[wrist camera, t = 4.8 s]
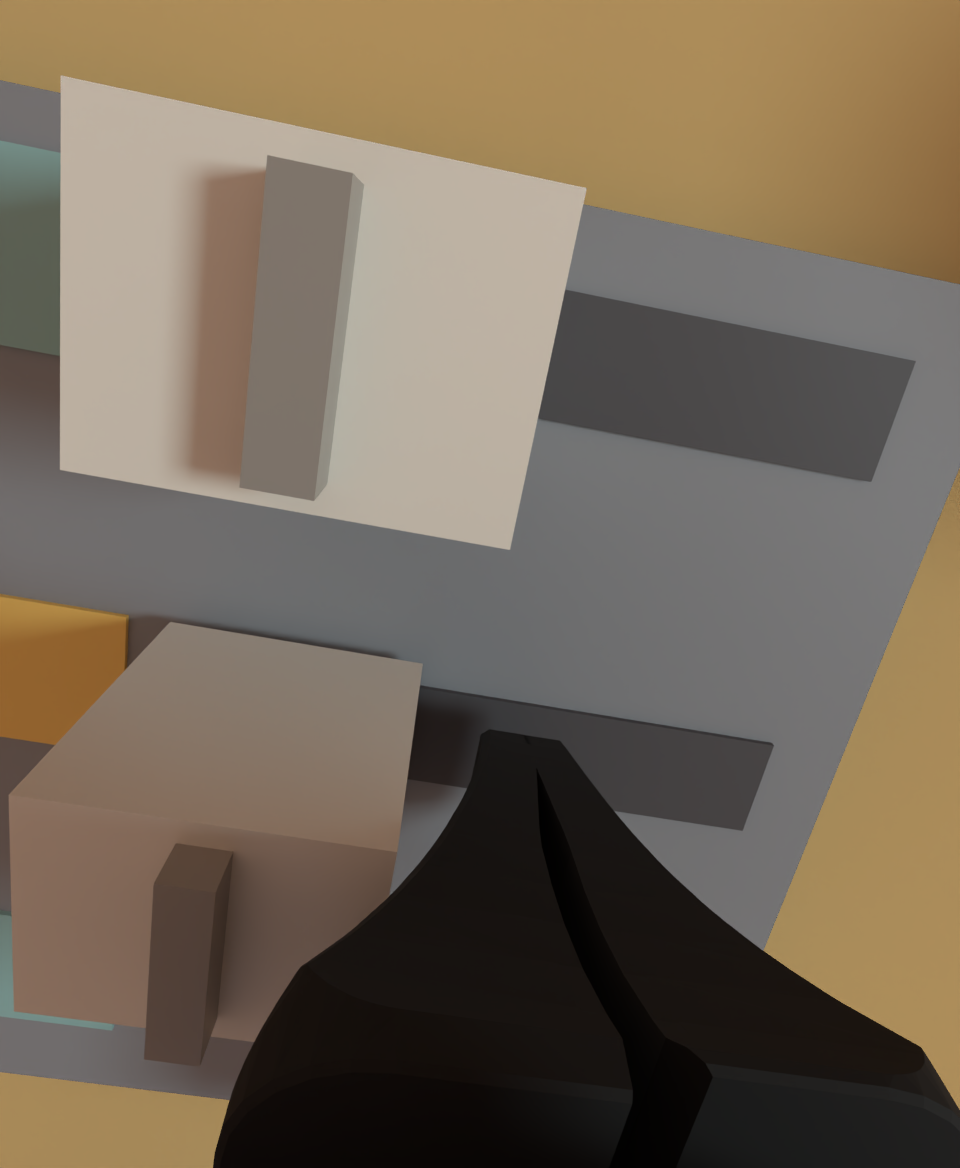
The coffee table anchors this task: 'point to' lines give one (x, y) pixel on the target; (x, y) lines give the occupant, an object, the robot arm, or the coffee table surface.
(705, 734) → the switch panel
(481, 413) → the slider
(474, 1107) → the robot arm
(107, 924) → the slider
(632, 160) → the coffee table surface
